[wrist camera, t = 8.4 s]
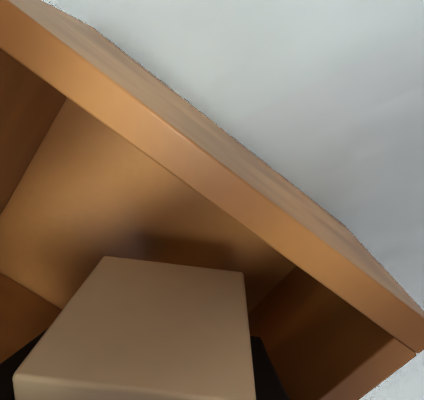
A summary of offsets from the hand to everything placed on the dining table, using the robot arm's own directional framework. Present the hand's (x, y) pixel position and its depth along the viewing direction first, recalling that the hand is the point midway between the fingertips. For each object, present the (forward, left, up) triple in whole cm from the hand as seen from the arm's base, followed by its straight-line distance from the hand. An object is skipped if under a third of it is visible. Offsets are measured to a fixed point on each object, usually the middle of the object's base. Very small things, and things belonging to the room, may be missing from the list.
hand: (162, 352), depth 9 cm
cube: (0, 0, -1) cm, 1 cm away
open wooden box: (+2, 0, -5) cm, 5 cm away
